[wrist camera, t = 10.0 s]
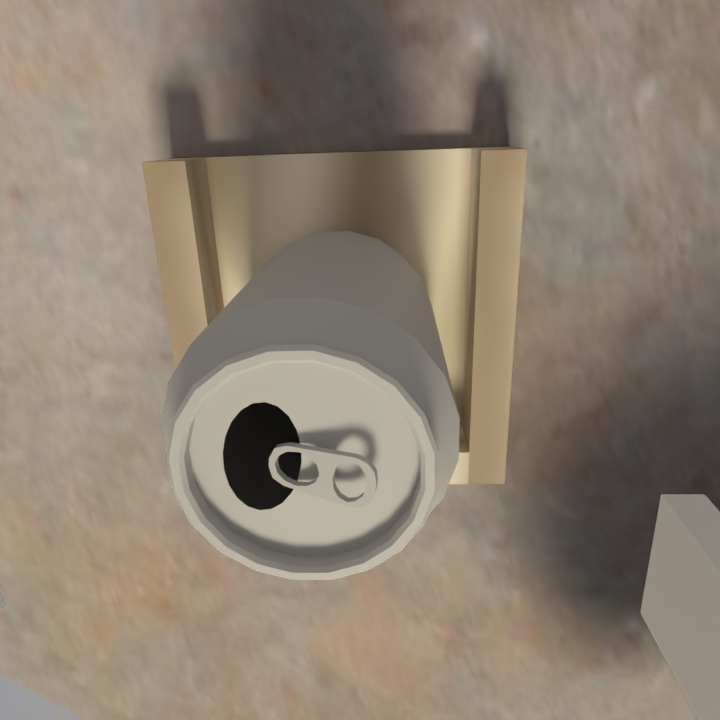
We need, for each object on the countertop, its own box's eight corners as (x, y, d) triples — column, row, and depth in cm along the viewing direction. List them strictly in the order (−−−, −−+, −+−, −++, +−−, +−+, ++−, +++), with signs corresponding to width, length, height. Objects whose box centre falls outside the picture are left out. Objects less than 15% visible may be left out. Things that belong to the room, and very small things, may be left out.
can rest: (509, 146, 22) (527, 148, 19) (492, 446, 27) (504, 483, 24) (171, 158, 23) (141, 162, 20) (214, 449, 27) (194, 485, 25)
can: (255, 215, 23) (127, 296, 12) (445, 239, 23) (501, 342, 12) (247, 388, 25) (138, 589, 14) (417, 409, 25) (439, 626, 14)
